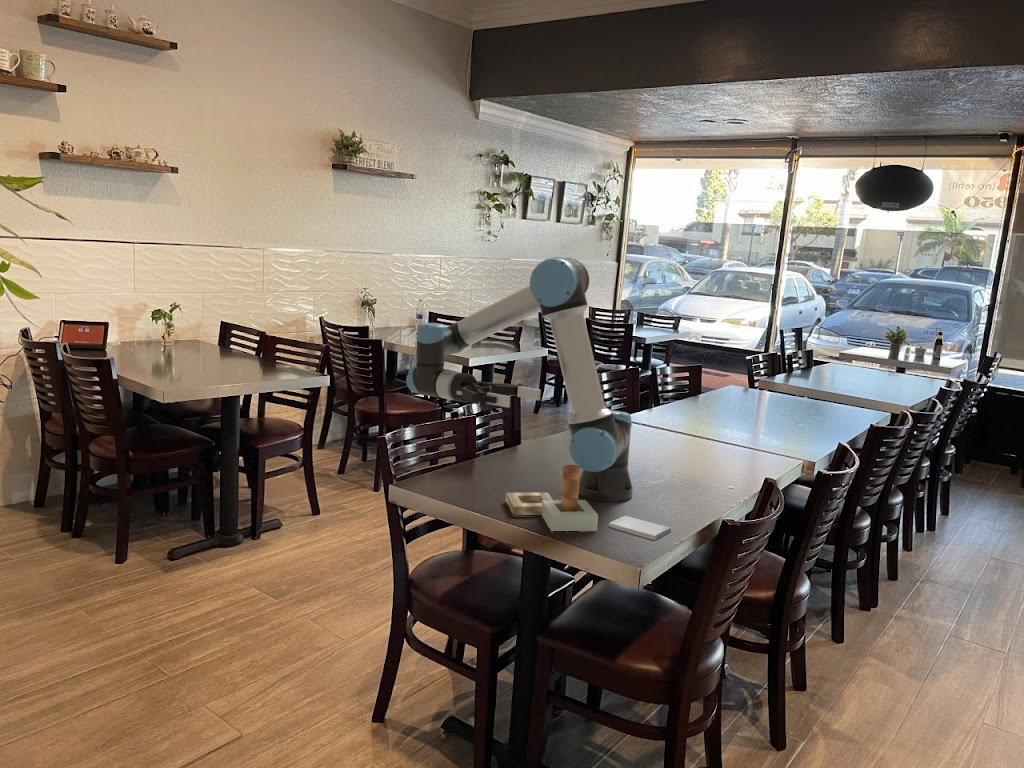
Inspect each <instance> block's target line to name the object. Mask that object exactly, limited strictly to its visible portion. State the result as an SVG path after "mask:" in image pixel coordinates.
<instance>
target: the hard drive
mask: <svg viewBox="0 0 1024 768" xmlns="http://www.w3.org/2000/svg"><path fill="white" fill-rule="evenodd" d="M608 526H609V527H608V528H611V527H612V528H611V529H614V528H615V530H618V531H621V532H624V531H625V533H627V534H632V535H635V536H639V537H642V538H645V539H648V540H652V541H656V540H658V539H659V538H661V537H664V536H665V535H667V534H669V533H671V532H672V528H671V527H669V526H665V525H661V524H658V523H654V522H652V521H651V522H650V521H647V520H643V519H639V518H635V517H632V516H628V515H624V516H621V517H619V518H617V519H615V520H612V521H610V522H609V523H608Z"/></svg>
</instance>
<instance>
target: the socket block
mask: <svg viewBox="0 0 1024 768" xmlns="http://www.w3.org/2000/svg"><path fill="white" fill-rule="evenodd" d="M541 515H542V517H543V518H544V520H545V521H544V520H543V521H544V522H546V523H547V524H546V523H545V524H546V525H548V526H547V528H548V529H549V528H550V529H549V531H551V533H554V532H553V531H567V532H566V533H569V532H568V531H579V532H597V531H598V523H599V522H598V521H599V514H598V512H596V511H595V509H593V507H592V506H591V504H589V502H588V501H587V500H586V499H578V509H577V512H561V500H559V499H555V500H554V499H553V500H542V511H541ZM542 517H541V518H542ZM543 518H542V519H543Z"/></svg>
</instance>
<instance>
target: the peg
mask: <svg viewBox="0 0 1024 768" xmlns="http://www.w3.org/2000/svg"><path fill="white" fill-rule="evenodd" d="M580 475H581V468H580V467H579V466H577V465H576V464H566V465H563V466H562V483H561V512H577V509H578V500H579V479H580Z"/></svg>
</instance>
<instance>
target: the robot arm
mask: <svg viewBox="0 0 1024 768" xmlns="http://www.w3.org/2000/svg"><path fill="white" fill-rule="evenodd" d="M589 285H590V274H589V272H588V270H587V268H586V266H585V265H584V264H583V262H581V261H579V260H578V259H575V258H573V257H572V258H571V257H559V256H555V257H550V258H546V259H544V260H542V261H541V262H539V263H538V264H537V265H536V266H535V267H534V269H533V271H532V273H531V274H530V279H529V285H528V286H526V287H524V288H522V289H520V290H518V291H516V292H513V293H512V294H509V295H508V296H506V297H504V298H502V299H500V300H498V301H496V302H494V303H492V304H490V305H488V306H486V307H484V308H482V309H480V310H478V311H476V312H475V313H472V314H470V315H468V316H466V317H465V318H462V319H461V320H458V321H457V322H454V323H453V324H450V325H448V326H447V327H446V326H445V324H443V323H438V322H422V323H420V324H418V325H417V331H416V350H415V351H416V353H415V354H416V357H415V358H416V359H415V360H416V361H415V362H416V363H415V365H414V366H412V367H410V368H409V370H408V371H407V372H408V373H407V375H406V381H405V382H406V386H407V387H408V389H409V391H411V392H412V393H416V394H419V395H422V396H428V397H435V398H439V399H446V402H450V401H455V402H460V403H466V404H468V403H472V404H475V405H477V404H479V406H480V407H485V406H486V404H487V405H491V406H498V407H503V408H510V407H511V397H512V396H513V397H514V396H516V397H517V398H521V399H522V398H523V399H528V400H534V401H541V391H542V390H541V389H539V388H533V387H527V386H523V384H522V383H520V382H518V384H514V383H500V382H491V381H477V379H476V377H475V376H474V375H472V374H470V373H465V372H464V373H463V372H460V371H454V370H449V369H448V370H446V369H445V356H449V355H453V354H454V355H455V354H458V353H461V352H462V351H464V349H466V348H468V347H470V346H471V345H474V344H476V343H478V342H480V341H481V340H484V339H486V338H488V337H491V336H492V335H494V334H496V333H499V332H500V331H502V330H505V329H507V328H508V327H509V328H510V326H513V325H515V324H517V323H519V322H521V321H523V320H525V319H527V318H529V317H532V316H534V315H536V314H538V313H540V312H541V316H542V318H544V319H545V320H547V321H549V323H550V329H551V332H552V335H553V340H554V344H555V348H556V352H557V357H558V362H559V364H560V365H559V366H560V369H561V375H562V377H563V381H564V385H565V386H564V387H565V390H566V395H567V398H568V403H569V407H570V411H571V415H570V417H569V419H568V421H567V424H568V428H569V432H570V434H569V435H570V440H569V446H568V451H569V455H570V458H571V459H572V461H573V463H574V465H576V466H579V467H580V469H581V471H580V479H579V494H578V496H579V495H580V496H581V497H583V498H586V499H589V500H593V501H599V502H600V501H601V502H611V503H612V502H623V501H627V500H630V499H631V498H632V497H633V484H632V479H631V476H630V471H629V458H630V456H629V455H630V444H631V431H632V425H633V424H632V415H631V414H630V413H628V412H626V411H619V410H612V409H609V408H608V407H607V406H606V405H605V404H606V403H605V401H604V397H603V392H602V387H601V383H600V379H599V375H598V371H597V367H596V362H595V357H594V353H593V348H592V344H591V340H590V337H589V332H588V328H587V324H586V320H585V319H586V318H585V311H586V309H587V308H588V305H589V304H588V301H587V297H586V293H587V291H588V289H589Z"/></svg>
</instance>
